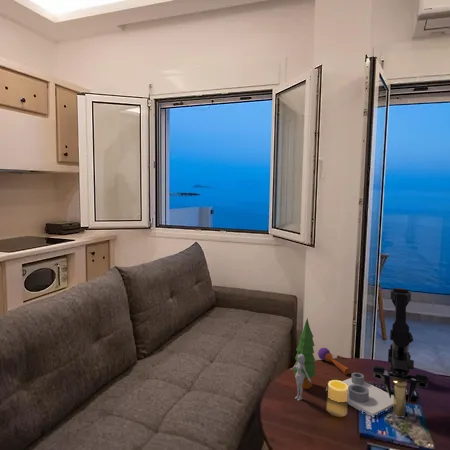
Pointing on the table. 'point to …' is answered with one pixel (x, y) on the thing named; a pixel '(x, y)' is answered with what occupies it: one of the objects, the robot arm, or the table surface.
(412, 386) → the robot arm
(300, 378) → the human figurine
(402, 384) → the disc
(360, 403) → the socket plate
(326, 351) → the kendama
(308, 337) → the decorative tree
